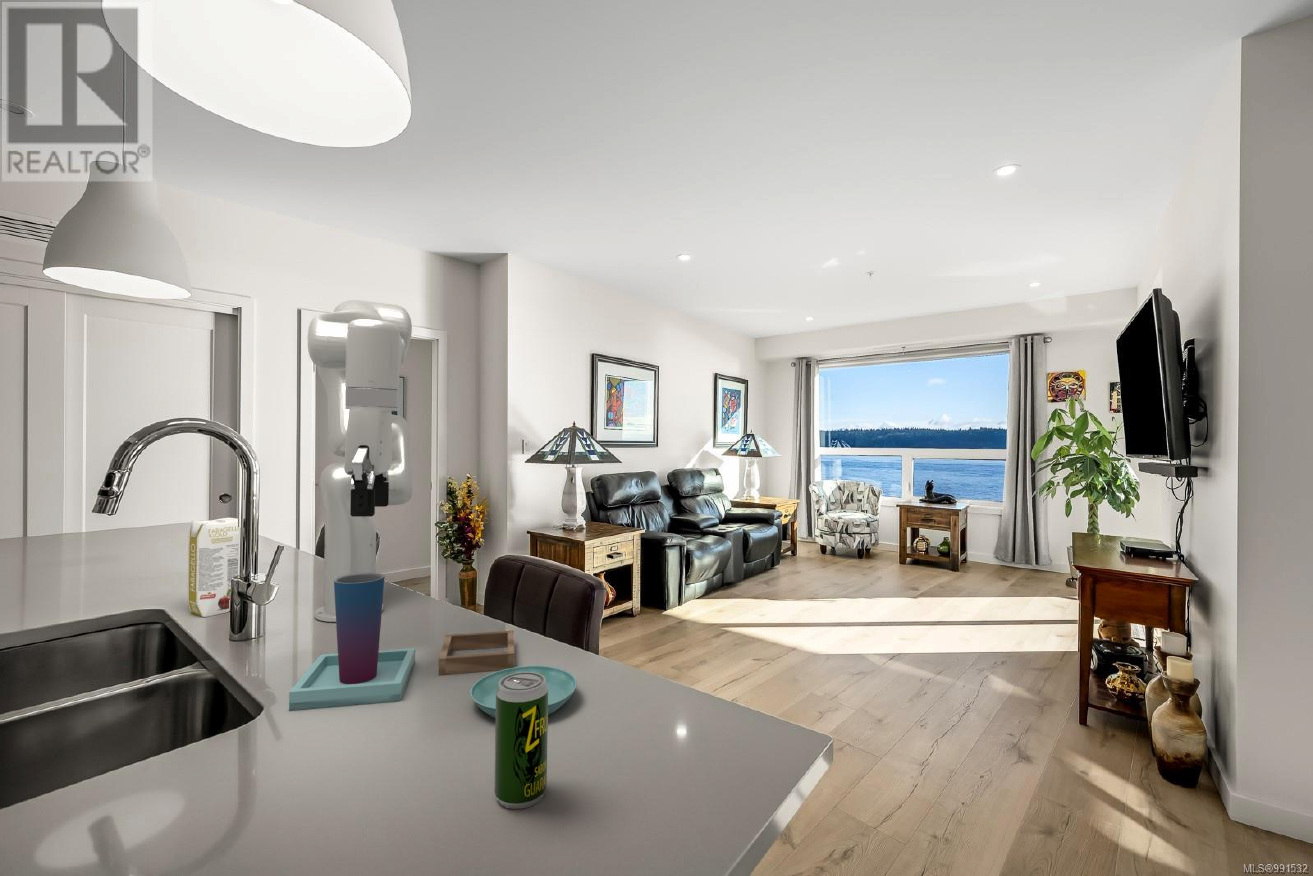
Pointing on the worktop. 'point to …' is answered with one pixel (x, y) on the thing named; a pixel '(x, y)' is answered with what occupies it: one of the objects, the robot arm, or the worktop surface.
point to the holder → (476, 660)
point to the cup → (358, 625)
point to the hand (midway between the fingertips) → (370, 511)
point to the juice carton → (212, 565)
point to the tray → (328, 691)
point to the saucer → (556, 679)
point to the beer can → (521, 739)
